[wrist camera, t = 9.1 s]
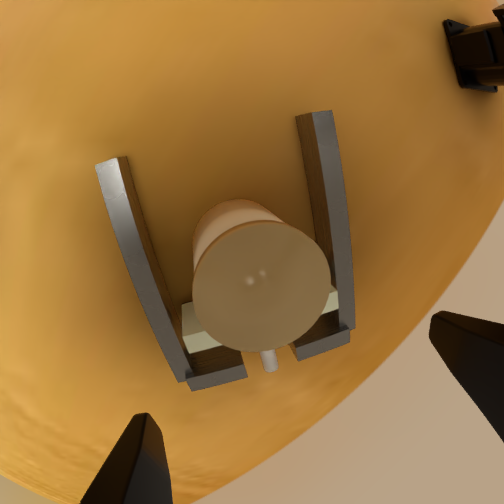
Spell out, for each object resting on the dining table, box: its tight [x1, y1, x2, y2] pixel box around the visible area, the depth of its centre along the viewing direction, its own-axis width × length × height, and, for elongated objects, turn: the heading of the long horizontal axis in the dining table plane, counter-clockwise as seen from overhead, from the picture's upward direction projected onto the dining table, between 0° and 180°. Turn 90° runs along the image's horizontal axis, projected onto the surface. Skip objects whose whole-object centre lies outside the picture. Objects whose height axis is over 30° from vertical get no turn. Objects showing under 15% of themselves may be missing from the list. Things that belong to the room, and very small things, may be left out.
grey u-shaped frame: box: [95, 110, 355, 391], centre depth 17 cm, size 12×15×3 cm
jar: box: [192, 199, 331, 352], centre depth 15 cm, size 6×6×7 cm
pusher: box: [182, 285, 339, 372], centre depth 19 cm, size 9×6×4 cm, turn 102°
